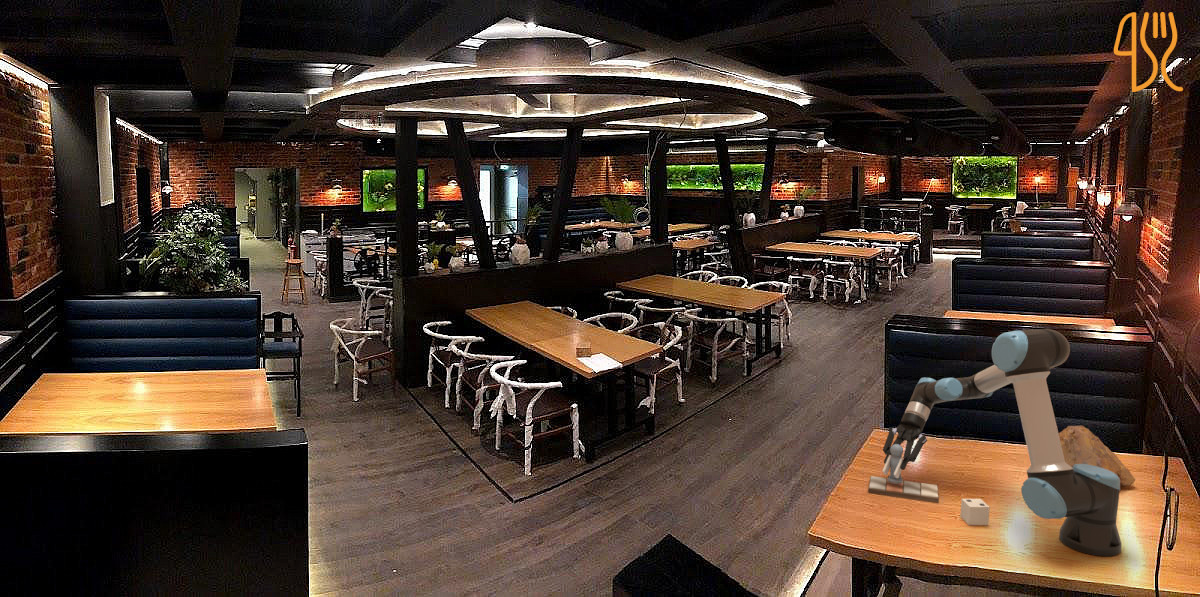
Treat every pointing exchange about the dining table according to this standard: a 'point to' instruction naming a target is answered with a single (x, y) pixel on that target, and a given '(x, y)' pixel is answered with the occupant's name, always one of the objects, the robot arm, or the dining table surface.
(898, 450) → the pawn
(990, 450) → the dining table surface
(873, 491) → the board
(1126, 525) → the dining table surface
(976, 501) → the die
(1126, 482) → the rock
